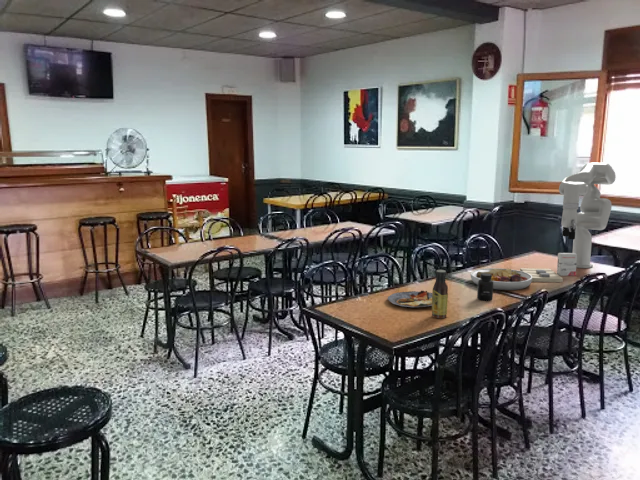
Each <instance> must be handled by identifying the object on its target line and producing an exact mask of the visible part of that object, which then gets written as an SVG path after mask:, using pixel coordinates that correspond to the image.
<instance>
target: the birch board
mask: <svg viewBox="0 0 640 480" xmlns="http://www.w3.org/2000/svg"><path fill="white" fill-rule="evenodd" d="M536 270H545V271H546V273H548V274H550V277H541V276H540V275H539V274H537V273H536ZM519 271H522V272H526V273H528V274H530V275H531V276H532V282H531V283H534V282H535V283H536V282H538V283H539V282H541V283H563V282H564V278H563V276H560V275H559V274H557V272H555V271H554V270H552V269H551V268H534V267H533V268H528V267H527V268H525V267H520V269H519Z"/></svg>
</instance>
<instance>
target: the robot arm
mask: <svg viewBox="0 0 640 480" xmlns="http://www.w3.org/2000/svg"><path fill="white" fill-rule="evenodd" d="M616 179H617V176H616V172H615V170H614V169H613V167H612V166H611V165H610V164H609V163H607V162H588V163H586V164H585V165H583V167H581V169H580V170H579V171H578V172H576V173H574V174H571V175H568V176H566V177H564V178H563V180H562V181H561V182H560V184H559V186H558V187H559V188H558V191H559V194H560V195H562V196H563V199H562V200H563V201H562V209H563V210H562V214H561V215H562V216H561V226H562V235H561V236H562V237H567V238H568V240H573V242H572V252H571V253H575V254H577V263H576V269H577V268H579V269H590V268H593V267H594V266H593V263H591V254H592V244H593V243H592V241H593V236H592V233H591V232H590V231H589V230H595V231H603V230H605V229H606V227H607V226H608V221H609V218H610V215H611V212H612V211H611V210H612V207H613V206H612V201H611V200H610V199H609V198H603V197H601V191H600V189H599V188H598V187H597V186H596V185H609V186H610V185H612V184H613V183H615V182H616ZM580 197H582V199H581V203H580ZM579 203H580V206H579ZM579 207H580V208H579ZM578 210H580V212H578Z"/></svg>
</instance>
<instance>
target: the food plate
mask: <svg viewBox="0 0 640 480" xmlns="http://www.w3.org/2000/svg"><path fill="white" fill-rule="evenodd" d="M432 293H433V292H428V291H427V290H420V291H416V290H414V291H413V290H412V291H402V292H394V293H392V294H389V295H388V296H387V300H388V301H389V302H390V303H392V304H393V305H396V306H400V307H402V308H407V307H408V308H423V307H424V308H427V307H432Z"/></svg>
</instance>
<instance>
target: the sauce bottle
mask: <svg viewBox="0 0 640 480" xmlns="http://www.w3.org/2000/svg"><path fill="white" fill-rule="evenodd" d="M435 274H436V276H435V277H436V278H435V282H434V285H433V287H432V292H431V293H432V306H431V316H432V317H433V318H435V319H445V318H447V314H448V298H449V296H448V295H449V292H448V291H449V287H448V284H447V282H446V275H447V271H446V270H444V269H437V270H436V271H435Z"/></svg>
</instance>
